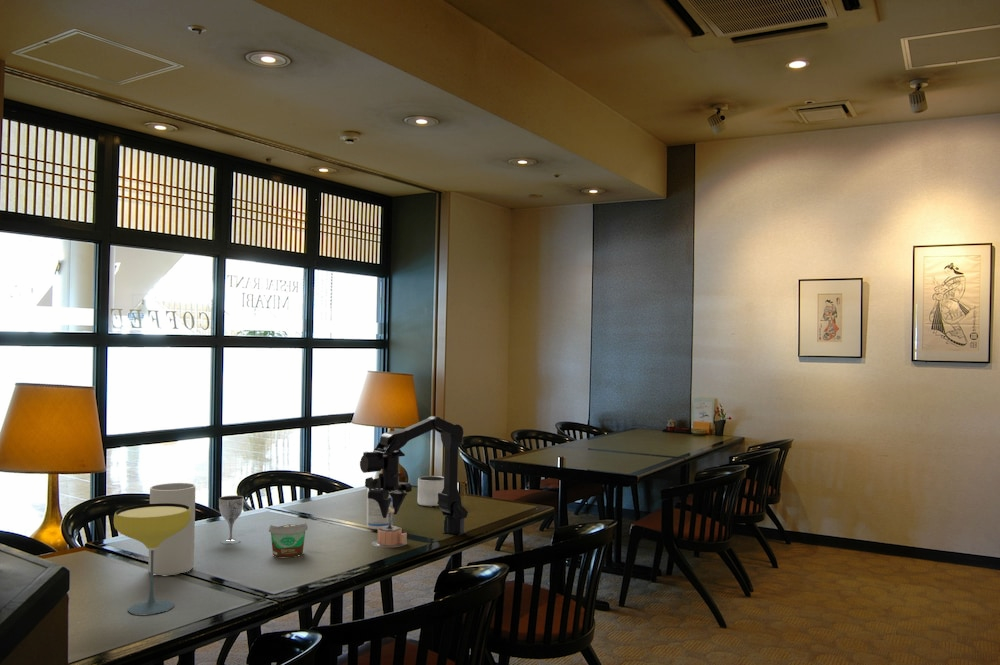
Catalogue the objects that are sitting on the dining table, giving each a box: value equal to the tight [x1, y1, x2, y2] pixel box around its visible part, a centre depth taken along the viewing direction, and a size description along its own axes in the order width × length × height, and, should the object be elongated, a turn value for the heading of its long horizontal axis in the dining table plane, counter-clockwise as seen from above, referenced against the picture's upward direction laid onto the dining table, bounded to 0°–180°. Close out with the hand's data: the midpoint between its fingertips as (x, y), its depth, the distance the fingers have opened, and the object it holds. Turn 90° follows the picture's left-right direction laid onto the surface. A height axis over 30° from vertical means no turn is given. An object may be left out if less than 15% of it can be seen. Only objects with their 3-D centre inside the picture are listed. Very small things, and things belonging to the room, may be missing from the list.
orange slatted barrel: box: [377, 525, 408, 546], centre depth 266 cm, size 10×8×5 cm
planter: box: [416, 475, 444, 507], centre depth 335 cm, size 12×12×11 cm
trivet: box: [371, 540, 408, 549], centre depth 266 cm, size 12×12×1 cm
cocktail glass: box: [113, 503, 191, 615], centre depth 200 cm, size 18×18×25 cm
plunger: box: [388, 507, 394, 532], centre depth 266 cm, size 5×5×8 cm
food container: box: [268, 521, 308, 558], centre depth 251 cm, size 12×6×10 cm, turn 117°
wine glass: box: [218, 495, 244, 541], centre depth 268 cm, size 8×8×15 cm
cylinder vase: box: [148, 482, 196, 575], centre depth 233 cm, size 12×12×25 cm
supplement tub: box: [366, 488, 394, 530], centre depth 291 cm, size 10×10×15 cm
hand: (389, 516), depth 266 cm, fingers open, 6 cm apart
